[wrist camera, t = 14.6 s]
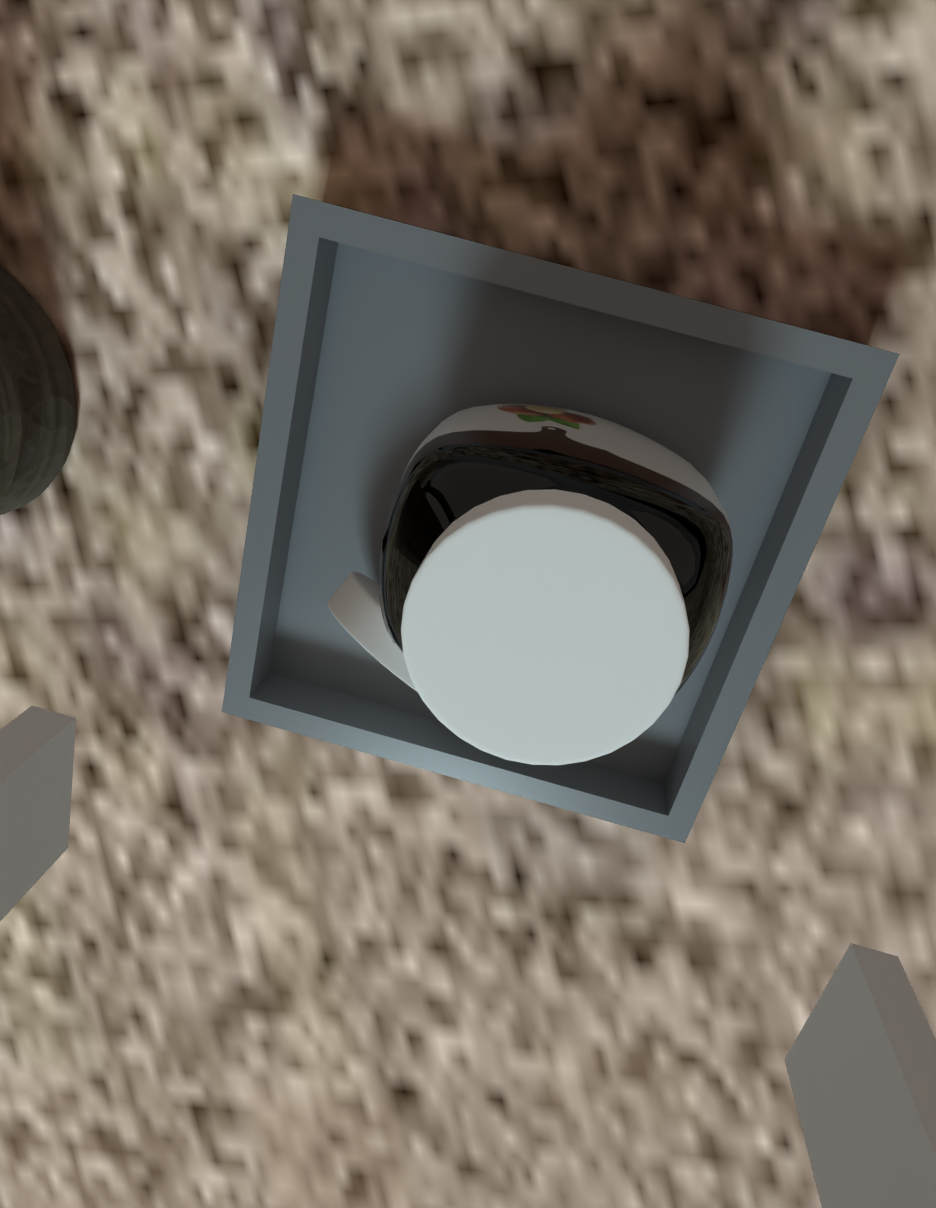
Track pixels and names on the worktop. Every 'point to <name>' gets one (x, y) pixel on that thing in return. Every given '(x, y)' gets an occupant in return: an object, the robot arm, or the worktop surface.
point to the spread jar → (543, 581)
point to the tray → (534, 377)
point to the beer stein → (31, 398)
